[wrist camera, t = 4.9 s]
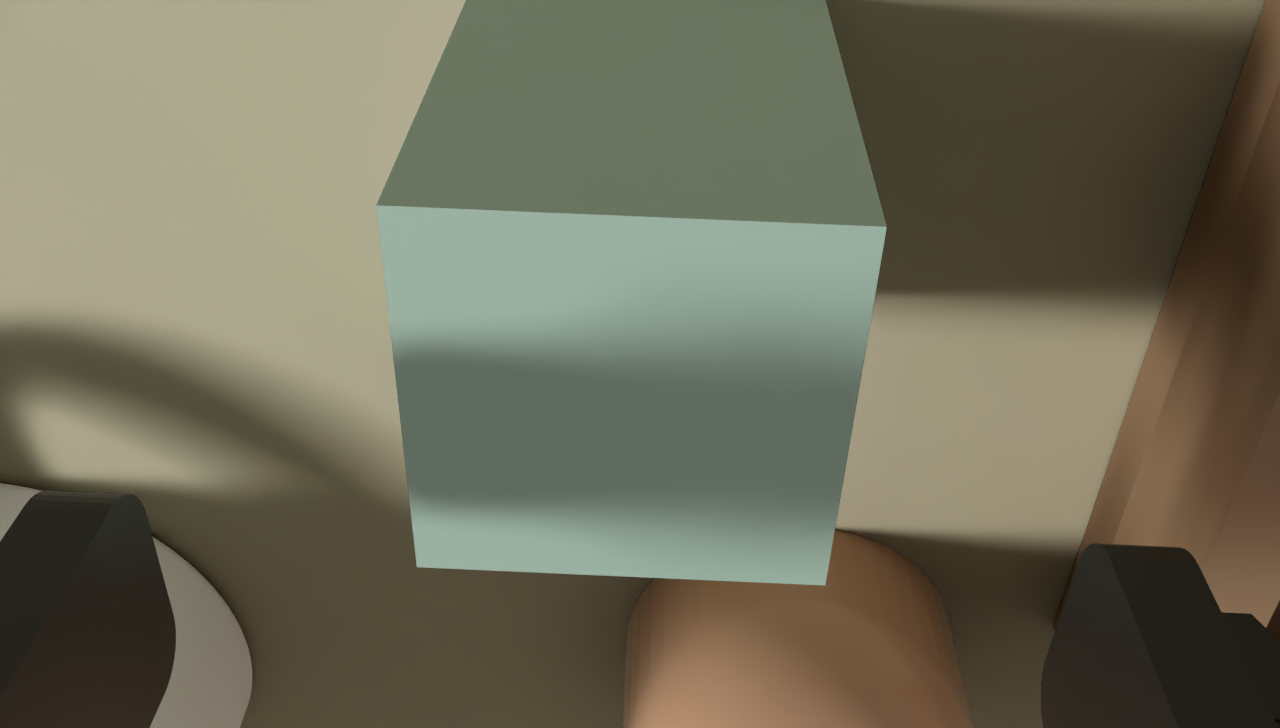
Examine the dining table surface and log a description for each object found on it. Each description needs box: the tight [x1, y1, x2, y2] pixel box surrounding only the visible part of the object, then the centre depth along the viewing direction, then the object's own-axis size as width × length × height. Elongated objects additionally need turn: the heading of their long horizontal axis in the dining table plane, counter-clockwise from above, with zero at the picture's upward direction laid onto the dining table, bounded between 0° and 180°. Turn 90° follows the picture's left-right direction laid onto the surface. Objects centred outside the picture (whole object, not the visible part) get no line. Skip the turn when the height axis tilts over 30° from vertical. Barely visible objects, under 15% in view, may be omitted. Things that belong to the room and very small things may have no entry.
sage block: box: [376, 0, 887, 585], centre depth 14 cm, size 4×4×6 cm
